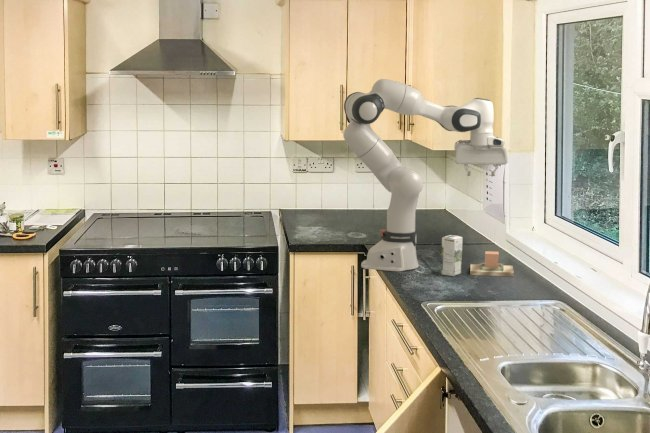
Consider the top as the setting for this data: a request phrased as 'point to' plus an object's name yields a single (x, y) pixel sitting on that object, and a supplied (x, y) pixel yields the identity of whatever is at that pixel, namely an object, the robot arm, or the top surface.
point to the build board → (491, 270)
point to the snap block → (491, 259)
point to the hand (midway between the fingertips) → (480, 175)
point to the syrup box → (451, 255)
